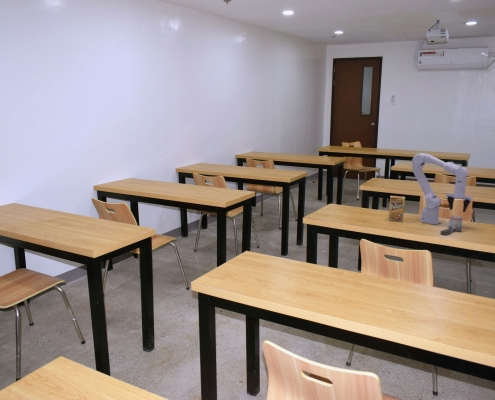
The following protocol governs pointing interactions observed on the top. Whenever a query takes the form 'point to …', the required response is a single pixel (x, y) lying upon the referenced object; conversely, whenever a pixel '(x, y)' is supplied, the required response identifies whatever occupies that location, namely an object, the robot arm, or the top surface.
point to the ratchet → (450, 230)
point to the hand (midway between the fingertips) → (457, 210)
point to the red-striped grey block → (455, 221)
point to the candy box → (396, 208)
